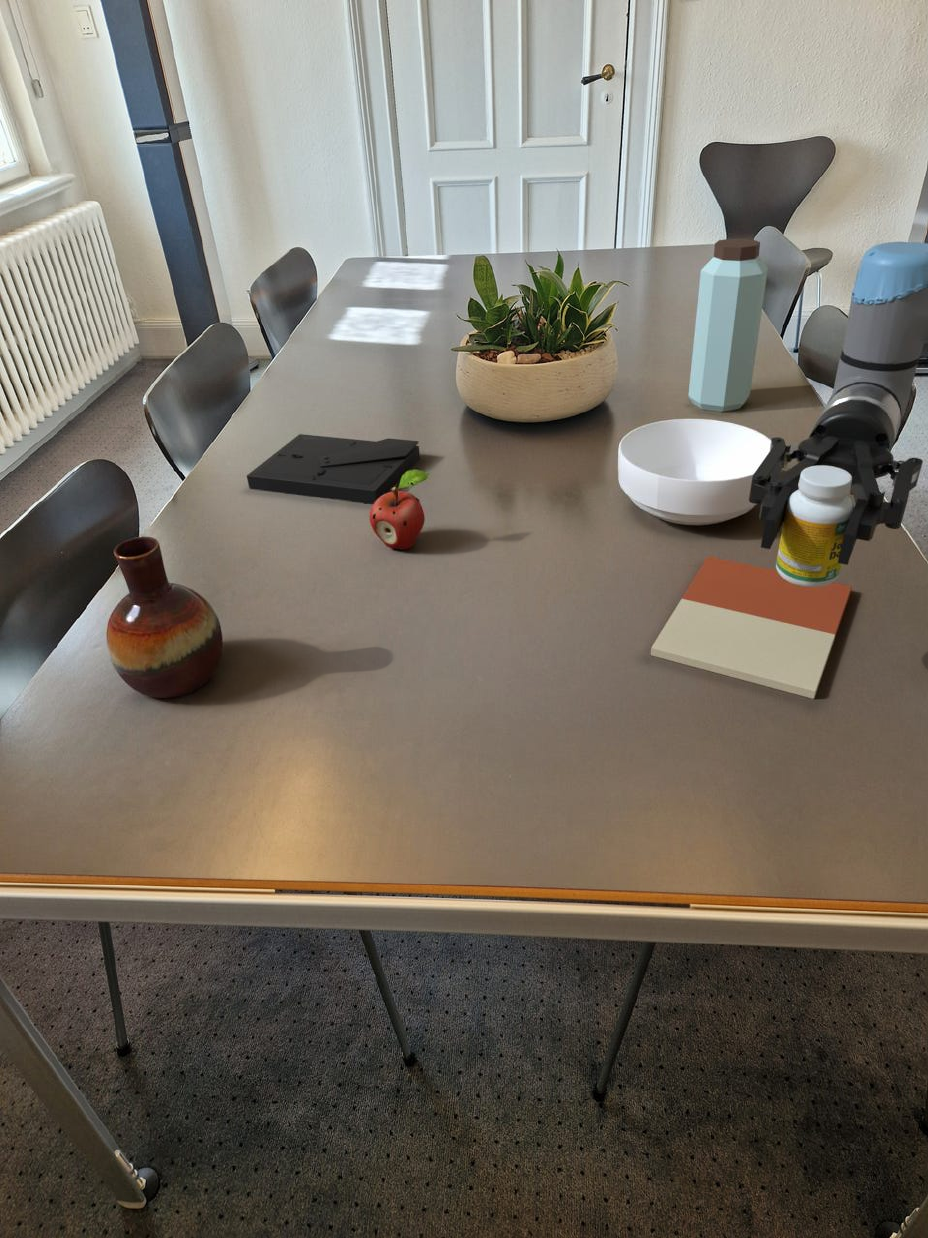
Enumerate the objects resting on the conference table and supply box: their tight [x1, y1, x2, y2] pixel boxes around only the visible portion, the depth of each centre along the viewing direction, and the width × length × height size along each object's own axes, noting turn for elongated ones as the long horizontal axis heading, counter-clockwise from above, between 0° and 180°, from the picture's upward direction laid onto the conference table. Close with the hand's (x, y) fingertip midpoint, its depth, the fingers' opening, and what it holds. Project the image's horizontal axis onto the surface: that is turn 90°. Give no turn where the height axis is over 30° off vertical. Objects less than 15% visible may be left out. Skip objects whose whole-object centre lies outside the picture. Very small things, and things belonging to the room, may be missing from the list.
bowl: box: [617, 418, 771, 526], centre depth 110 cm, size 20×20×8 cm
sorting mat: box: [650, 555, 853, 700], centre depth 90 cm, size 16×20×1 cm
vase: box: [105, 536, 224, 699], centre depth 84 cm, size 11×11×15 cm
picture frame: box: [246, 433, 421, 505], centre depth 127 cm, size 16×3×21 cm
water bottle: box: [688, 237, 769, 413], centre depth 135 cm, size 10×10×25 cm
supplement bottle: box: [775, 466, 855, 587], centre depth 73 cm, size 5×5×10 cm
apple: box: [368, 468, 430, 550], centre depth 106 cm, size 8×7×10 cm
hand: (806, 541), depth 69 cm, fingers closed on supplement bottle, 5 cm apart
